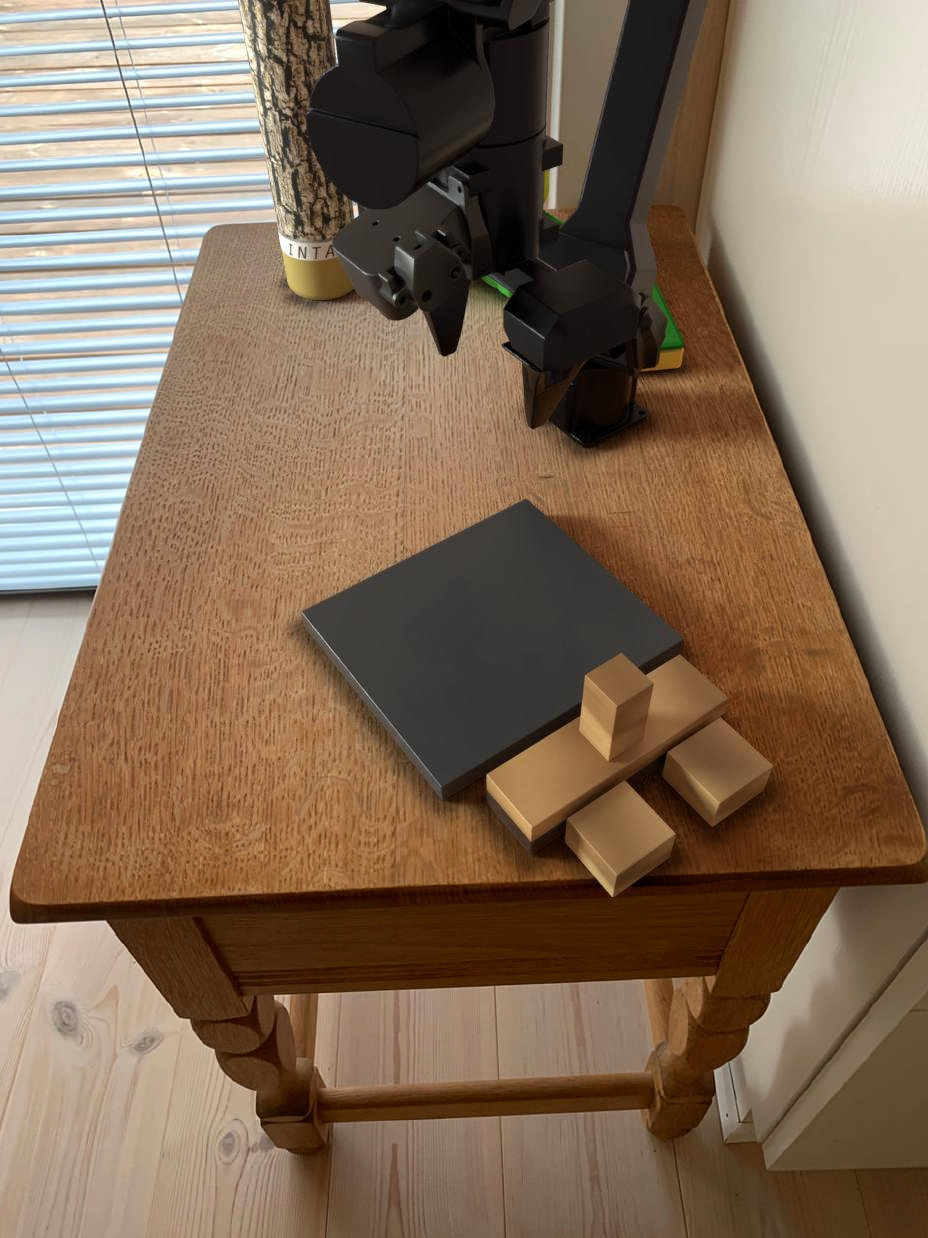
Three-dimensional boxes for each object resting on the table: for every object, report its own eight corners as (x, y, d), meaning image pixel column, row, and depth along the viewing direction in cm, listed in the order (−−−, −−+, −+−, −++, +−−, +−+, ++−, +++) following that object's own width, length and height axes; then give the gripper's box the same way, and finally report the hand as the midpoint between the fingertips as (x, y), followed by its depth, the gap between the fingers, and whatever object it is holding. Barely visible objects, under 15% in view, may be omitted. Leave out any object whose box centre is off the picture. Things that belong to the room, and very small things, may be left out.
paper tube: (282, 272, 93) (227, -34, 74) (352, 259, 94) (316, -45, 75) (295, 309, 89) (241, -6, 70) (369, 295, 90) (335, -18, 71)
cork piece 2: (713, 741, 57) (720, 716, 55) (764, 790, 55) (773, 765, 53) (661, 776, 56) (667, 751, 54) (711, 827, 53) (719, 804, 51)
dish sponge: (597, 377, 81) (599, 351, 79) (565, 288, 90) (566, 263, 88) (682, 369, 81) (686, 343, 79) (641, 281, 90) (644, 257, 88)
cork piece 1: (620, 803, 54) (625, 779, 53) (670, 857, 52) (676, 834, 50) (564, 842, 53) (566, 818, 51) (612, 898, 51) (617, 876, 49)
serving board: (525, 513, 70) (526, 497, 69) (681, 654, 61) (685, 638, 60) (303, 626, 64) (300, 611, 63) (442, 802, 55) (441, 787, 54)
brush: (673, 684, 60) (692, 595, 54) (720, 728, 58) (746, 640, 52) (486, 803, 55) (485, 719, 49) (530, 856, 52) (534, 775, 46)
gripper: (254, 104, 51) (300, 363, 62) (461, 248, 40) (470, 527, 52) (434, 52, 55) (446, 305, 66) (665, 172, 44) (630, 447, 56)
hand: (490, 388), depth 60 cm, fingers open, 9 cm apart
